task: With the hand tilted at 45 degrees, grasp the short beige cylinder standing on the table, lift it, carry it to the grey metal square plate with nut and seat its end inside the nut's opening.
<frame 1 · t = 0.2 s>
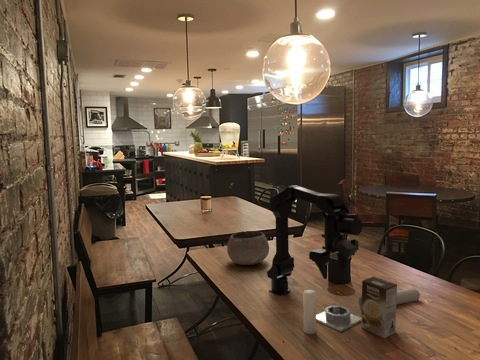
hand: (334, 275, 137), 14 cm above the table, tool pointing down, fingers open, 9 cm apart
coffee box: (378, 330, 128), on the table
tube: (390, 305, 147), on the table
square plate with nut: (337, 319, 135), on the table
clay pot: (248, 263, 198), on the table
beige cylinder: (309, 331, 128), on the table
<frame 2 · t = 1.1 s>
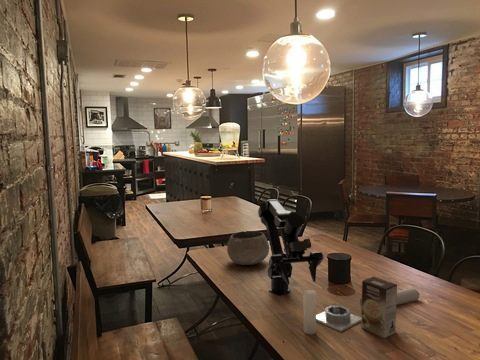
hand: (301, 282, 134), 13 cm above the table, tool tilted 45°, fingers open, 9 cm apart
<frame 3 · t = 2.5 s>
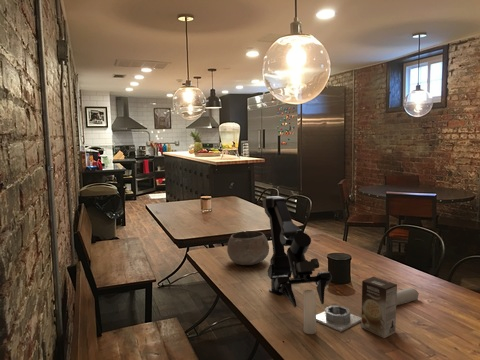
hand: (309, 305, 127), 9 cm above the table, tool tilted 45°, fingers open, 9 cm apart
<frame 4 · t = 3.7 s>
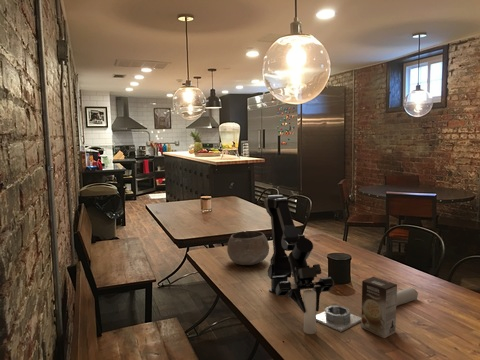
hand: (311, 311, 126), 7 cm above the table, tool tilted 45°, fingers closed on beige cylinder, 4 cm apart
beige cylinder: (309, 331, 128), on the table, touching gripper
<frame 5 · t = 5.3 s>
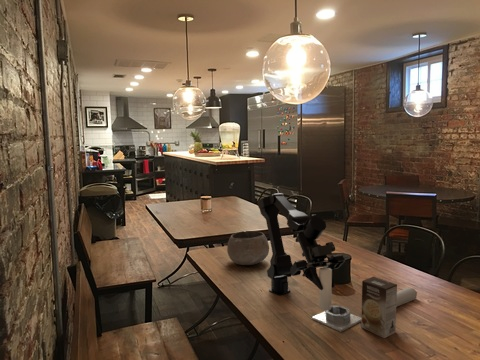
hand: (327, 288, 128), 13 cm above the table, tool tilted 45°, fingers closed on beige cylinder, 4 cm apart
beige cylinder: (325, 307, 130), point 6 cm above the table, touching gripper
when the fingers open (9 cm above the table, at t = 7.1 s): beige cylinder drops 1 cm, resting on square plate with nut.
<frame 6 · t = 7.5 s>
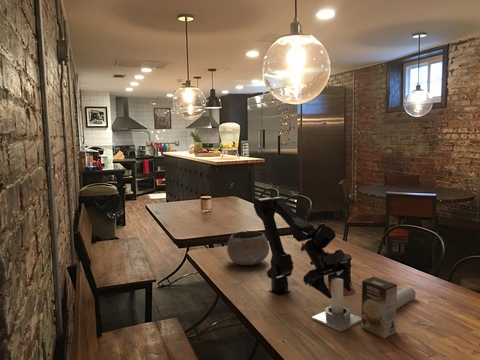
hand: (340, 294, 133), 9 cm above the table, tool tilted 45°, fingers open, 9 cm apart
beige cylinder: (337, 317, 135), point 1 cm above the table, touching square plate with nut
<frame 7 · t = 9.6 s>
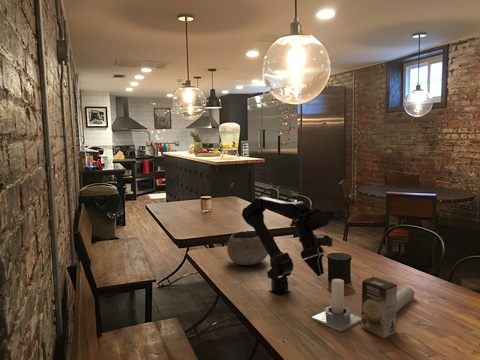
hand: (321, 275, 144), 12 cm above the table, tool tilted 25°, fingers open, 9 cm apart
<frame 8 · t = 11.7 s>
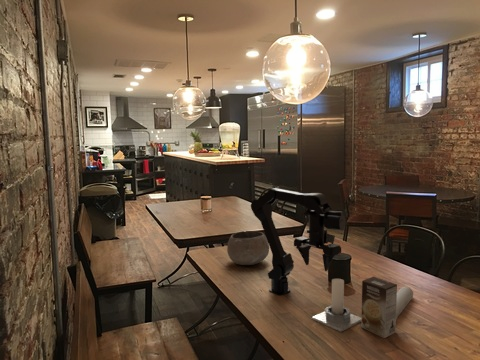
hand: (316, 267, 150), 13 cm above the table, tool pointing down, fingers open, 9 cm apart
at the end: beige cylinder 0.1 cm off-centre on the square plate with nut, point 0.8 cm above the square plate with nut's base; beige cylinder tilted 1°; the gripper is holding nothing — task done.
